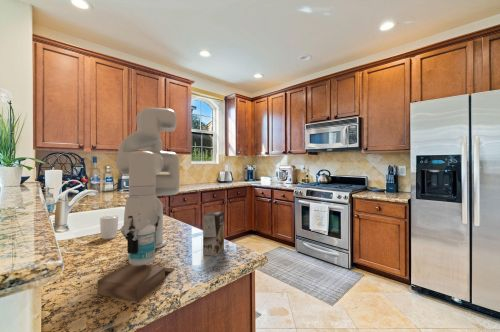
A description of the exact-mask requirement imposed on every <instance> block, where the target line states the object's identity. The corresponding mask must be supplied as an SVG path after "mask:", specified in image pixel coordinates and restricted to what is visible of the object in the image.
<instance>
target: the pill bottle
mask: <svg viewBox="0 0 500 332" xmlns="http://www.w3.org/2000/svg"><path fill="white" fill-rule="evenodd" d="M149 222H150V220H148V222H147V223H149ZM133 229H135V228H134V227H133ZM132 234H133V235H134V231H132ZM136 240H138V253H137V254H132V253H128V264H129V263H130V264H131V265H134V266H142V265H149V264H152V262H154V261H155V259H156V249H155V227H154V225H147V226H146V227H144V228H143V229H142V230H140V231H139V232H138V236H137V239H136Z"/></svg>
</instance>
